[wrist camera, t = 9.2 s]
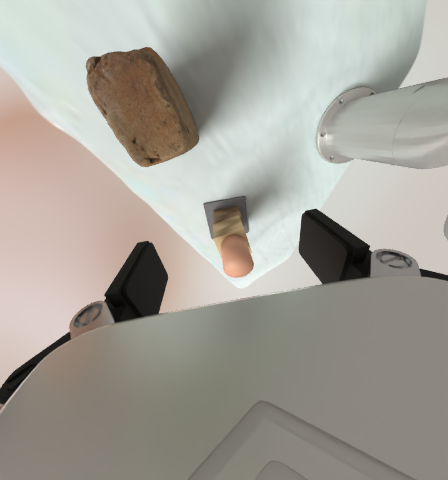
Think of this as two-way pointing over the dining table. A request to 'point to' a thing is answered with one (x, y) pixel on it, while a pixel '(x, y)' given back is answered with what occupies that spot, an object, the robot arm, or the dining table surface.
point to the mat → (222, 205)
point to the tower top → (228, 231)
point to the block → (142, 105)
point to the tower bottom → (226, 214)
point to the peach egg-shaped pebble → (236, 256)
